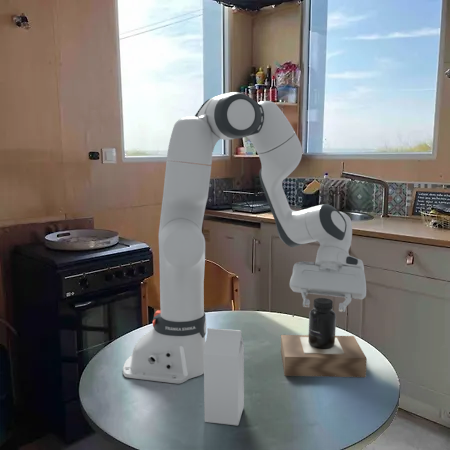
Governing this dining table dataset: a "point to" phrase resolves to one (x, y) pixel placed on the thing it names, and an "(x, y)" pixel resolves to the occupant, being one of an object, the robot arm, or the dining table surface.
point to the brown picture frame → (322, 357)
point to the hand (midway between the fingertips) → (323, 308)
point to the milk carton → (223, 376)
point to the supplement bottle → (322, 324)
